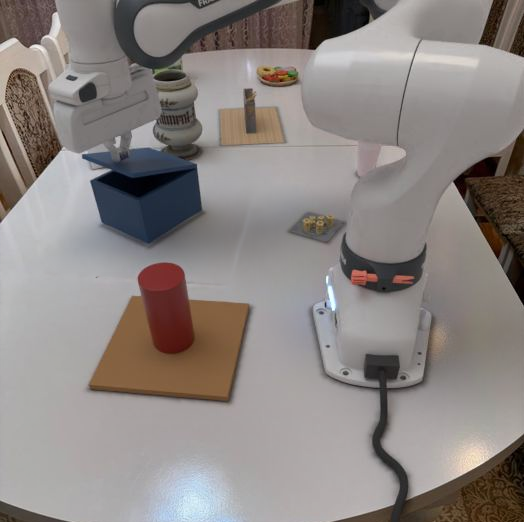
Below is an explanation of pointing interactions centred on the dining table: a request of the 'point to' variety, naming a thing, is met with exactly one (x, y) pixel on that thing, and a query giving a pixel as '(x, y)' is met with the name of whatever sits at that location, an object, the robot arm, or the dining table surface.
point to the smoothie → (367, 156)
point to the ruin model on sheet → (250, 123)
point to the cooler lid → (141, 162)
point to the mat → (174, 365)
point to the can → (167, 307)
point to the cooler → (147, 201)
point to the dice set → (317, 227)
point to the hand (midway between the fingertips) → (121, 158)
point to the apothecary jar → (177, 114)
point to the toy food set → (277, 75)
